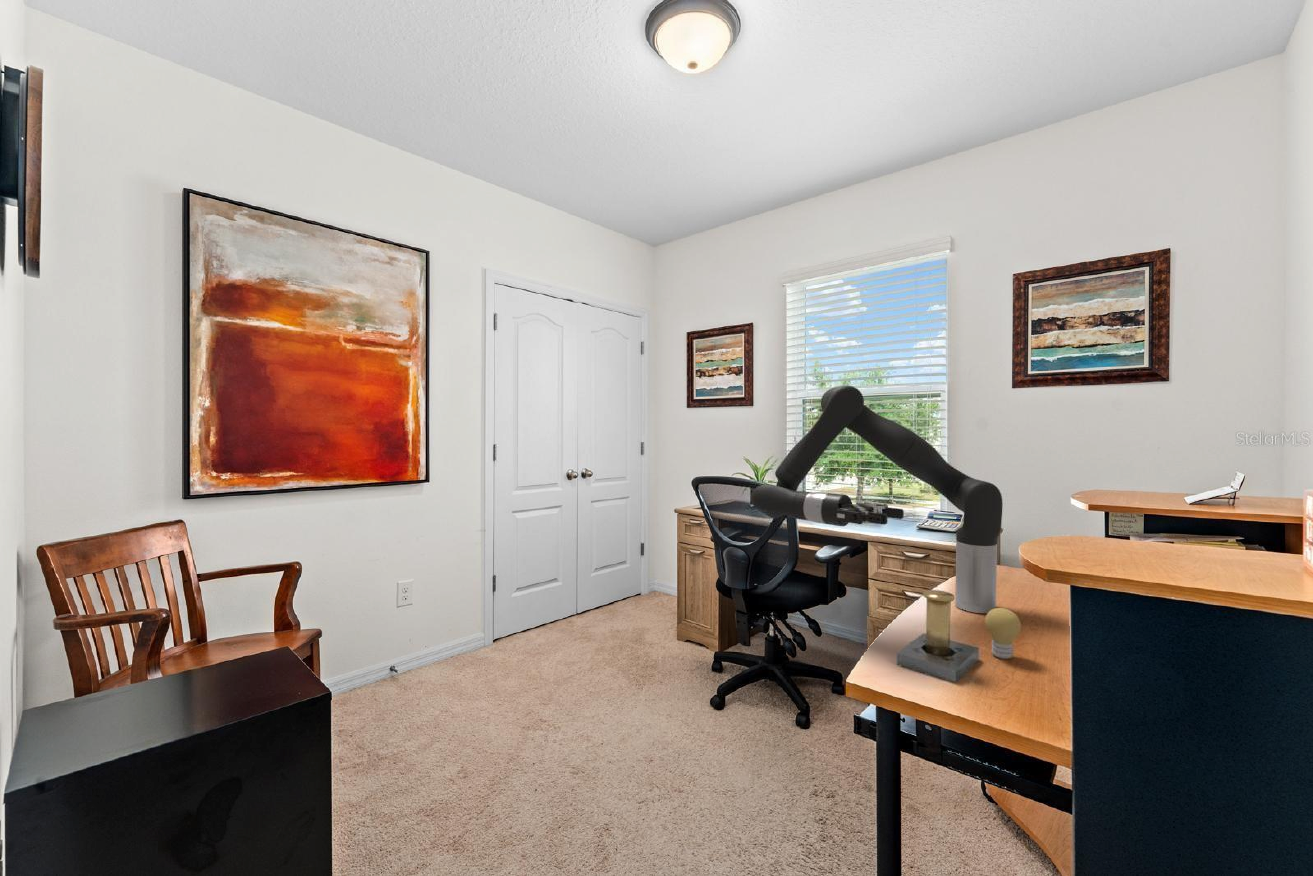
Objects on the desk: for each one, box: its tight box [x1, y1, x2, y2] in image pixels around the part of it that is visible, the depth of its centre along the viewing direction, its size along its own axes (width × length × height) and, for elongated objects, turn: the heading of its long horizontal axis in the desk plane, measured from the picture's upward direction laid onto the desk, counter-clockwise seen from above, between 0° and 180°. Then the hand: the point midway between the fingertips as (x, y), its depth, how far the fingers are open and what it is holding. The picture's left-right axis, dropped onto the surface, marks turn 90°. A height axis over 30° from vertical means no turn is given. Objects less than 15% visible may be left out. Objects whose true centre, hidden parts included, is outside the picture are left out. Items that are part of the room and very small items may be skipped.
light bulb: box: [984, 607, 1022, 660], centre depth 117 cm, size 6×6×10 cm
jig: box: [896, 632, 980, 684], centre depth 115 cm, size 14×11×2 cm
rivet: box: [923, 589, 955, 657], centre depth 115 cm, size 6×6×14 cm
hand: (895, 516), depth 124 cm, fingers open, 8 cm apart
